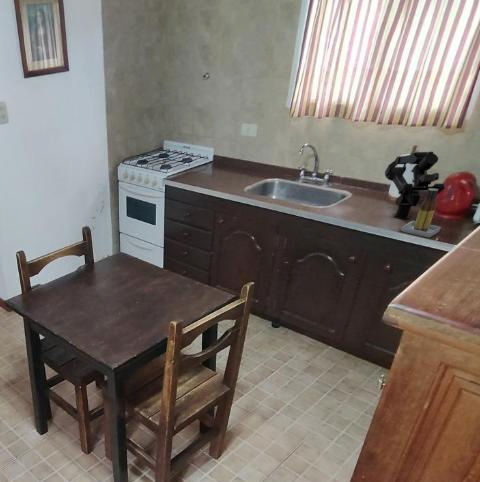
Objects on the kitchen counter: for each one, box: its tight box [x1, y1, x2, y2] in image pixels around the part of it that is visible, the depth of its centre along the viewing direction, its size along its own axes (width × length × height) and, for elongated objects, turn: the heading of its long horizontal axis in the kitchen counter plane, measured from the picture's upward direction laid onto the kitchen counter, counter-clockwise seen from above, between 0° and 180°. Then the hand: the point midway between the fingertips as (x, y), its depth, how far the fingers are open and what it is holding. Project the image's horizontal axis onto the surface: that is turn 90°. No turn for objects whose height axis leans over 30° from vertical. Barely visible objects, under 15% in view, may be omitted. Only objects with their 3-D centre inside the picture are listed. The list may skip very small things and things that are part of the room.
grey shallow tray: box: [400, 220, 442, 239], centre depth 233 cm, size 12×13×2 cm
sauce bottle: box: [414, 188, 438, 232], centre depth 228 cm, size 6×6×20 cm
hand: (422, 204), depth 232 cm, fingers open, 9 cm apart
